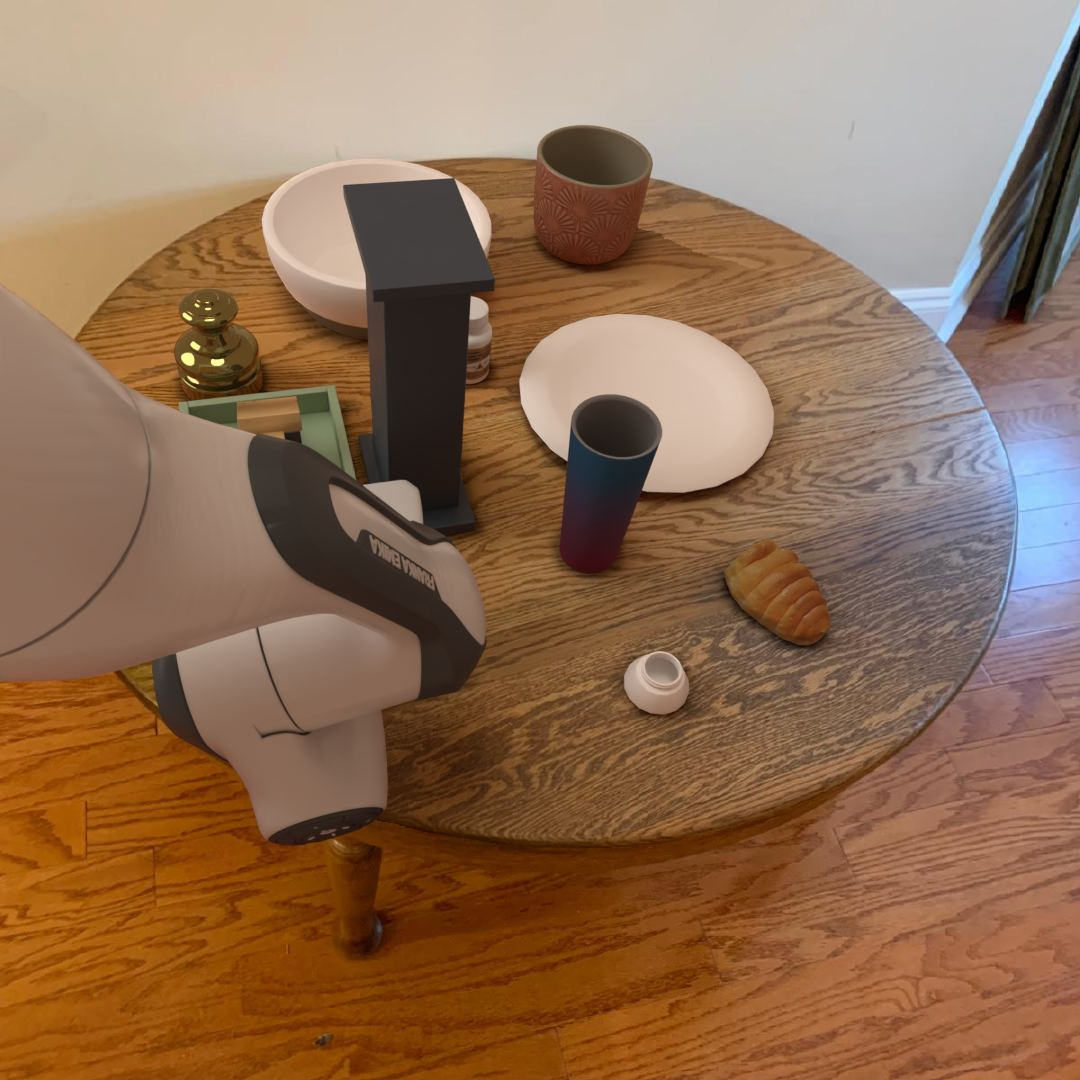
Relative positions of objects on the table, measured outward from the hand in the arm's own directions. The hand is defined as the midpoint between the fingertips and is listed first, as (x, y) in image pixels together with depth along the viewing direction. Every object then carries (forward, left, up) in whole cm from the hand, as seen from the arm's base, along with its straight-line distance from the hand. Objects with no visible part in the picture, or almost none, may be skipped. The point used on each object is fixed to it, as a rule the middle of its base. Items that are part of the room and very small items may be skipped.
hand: (274, 460), depth 75 cm
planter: (+37, +36, -9) cm, 53 cm away
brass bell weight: (-4, +19, -9) cm, 21 cm away
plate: (+35, +9, -9) cm, 38 cm away
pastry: (+38, -15, -9) cm, 42 cm away
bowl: (+13, +31, -9) cm, 35 cm away
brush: (0, +2, -3) cm, 3 cm away
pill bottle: (+19, +17, -9) cm, 27 cm away
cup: (+24, -7, -9) cm, 27 cm away
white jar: (+25, -21, -9) cm, 34 cm away
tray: (-1, +3, -9) cm, 9 cm away
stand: (+11, +3, -9) cm, 15 cm away
